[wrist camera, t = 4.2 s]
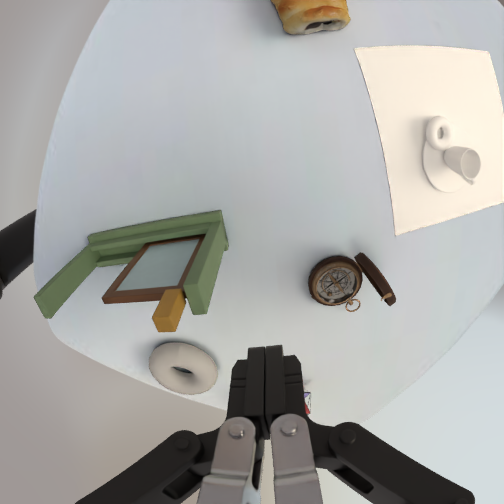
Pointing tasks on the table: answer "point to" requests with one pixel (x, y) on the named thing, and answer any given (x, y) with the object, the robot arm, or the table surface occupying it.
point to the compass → (346, 280)
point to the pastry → (312, 15)
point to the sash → (158, 278)
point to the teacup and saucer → (437, 130)
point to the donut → (186, 358)
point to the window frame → (127, 246)
